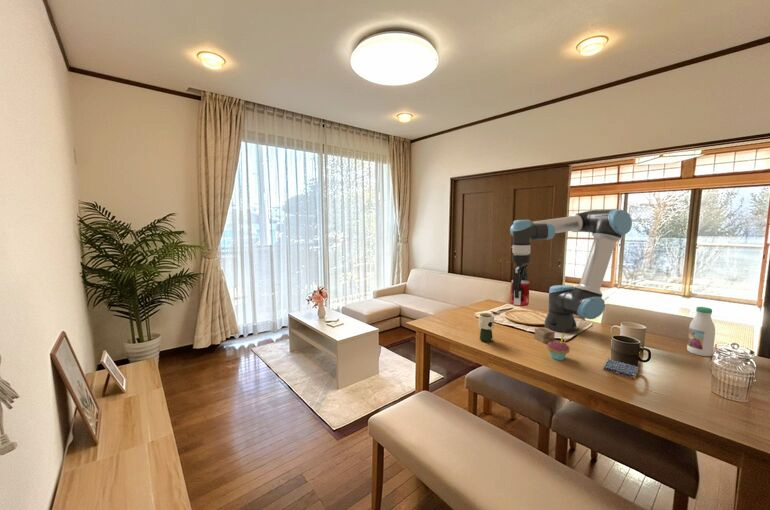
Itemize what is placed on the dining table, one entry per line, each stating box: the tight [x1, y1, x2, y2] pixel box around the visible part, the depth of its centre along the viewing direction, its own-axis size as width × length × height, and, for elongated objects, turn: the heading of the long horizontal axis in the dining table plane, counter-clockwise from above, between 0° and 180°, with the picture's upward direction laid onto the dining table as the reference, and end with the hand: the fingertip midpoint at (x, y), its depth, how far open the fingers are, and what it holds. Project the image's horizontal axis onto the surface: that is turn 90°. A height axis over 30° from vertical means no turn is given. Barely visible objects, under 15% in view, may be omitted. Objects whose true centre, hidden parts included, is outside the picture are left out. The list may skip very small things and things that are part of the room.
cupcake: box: [545, 332, 571, 361], centre depth 128 cm, size 9×8×12 cm
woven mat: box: [601, 358, 639, 380], centre depth 118 cm, size 10×11×2 cm
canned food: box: [510, 279, 530, 307], centre depth 139 cm, size 8×8×11 cm
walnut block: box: [534, 327, 555, 344], centre depth 147 cm, size 6×6×5 cm
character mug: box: [478, 312, 495, 342], centre depth 148 cm, size 11×7×13 cm, turn 136°
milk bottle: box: [686, 306, 716, 357], centre depth 128 cm, size 8×8×20 cm
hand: (519, 302), depth 139 cm, fingers closed on canned food, 8 cm apart
